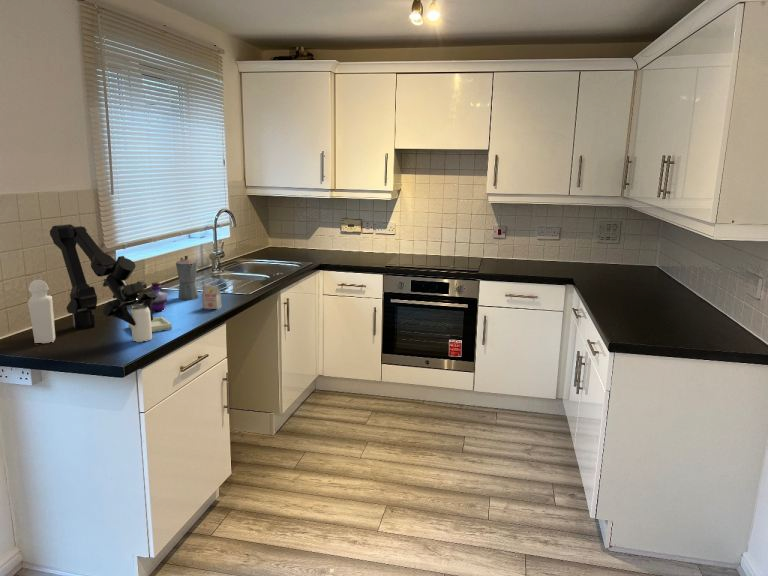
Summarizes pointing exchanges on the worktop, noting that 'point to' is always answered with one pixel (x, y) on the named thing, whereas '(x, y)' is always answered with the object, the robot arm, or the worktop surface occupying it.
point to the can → (141, 323)
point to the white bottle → (41, 312)
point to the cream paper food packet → (211, 297)
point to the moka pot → (187, 279)
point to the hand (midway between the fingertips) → (143, 322)
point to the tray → (159, 324)
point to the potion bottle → (158, 297)
